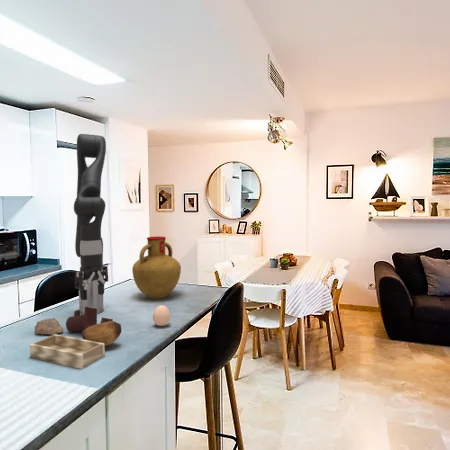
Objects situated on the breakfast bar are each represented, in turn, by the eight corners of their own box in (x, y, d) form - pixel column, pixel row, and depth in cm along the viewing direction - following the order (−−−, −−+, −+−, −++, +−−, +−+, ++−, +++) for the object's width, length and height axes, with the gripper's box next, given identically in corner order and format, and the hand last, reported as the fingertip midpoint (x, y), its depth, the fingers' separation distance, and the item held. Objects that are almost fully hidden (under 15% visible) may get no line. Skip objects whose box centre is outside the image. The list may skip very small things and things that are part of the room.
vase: (157, 289, 202) (157, 234, 200) (191, 295, 188) (190, 236, 186) (122, 298, 183) (121, 237, 181) (156, 306, 169) (155, 240, 167)
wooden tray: (30, 357, 114) (29, 344, 114) (55, 346, 123) (55, 334, 122) (81, 369, 106) (81, 355, 105) (104, 356, 114) (104, 343, 114)
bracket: (106, 331, 128) (106, 302, 132) (64, 338, 132) (66, 309, 136) (116, 332, 134) (116, 304, 137) (75, 338, 138) (76, 311, 141)
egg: (153, 329, 138) (153, 308, 138) (152, 323, 145) (151, 303, 144) (171, 327, 140) (171, 307, 139) (169, 322, 146) (169, 302, 146)
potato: (85, 357, 121) (88, 336, 128) (125, 347, 122) (126, 327, 128) (75, 344, 117) (79, 323, 123) (116, 334, 117) (118, 313, 123)
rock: (30, 333, 135) (41, 335, 128) (32, 317, 137) (43, 317, 130) (54, 333, 141) (65, 334, 135) (56, 317, 143) (68, 318, 136)
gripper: (97, 250, 141) (98, 292, 142) (68, 254, 128) (69, 301, 129) (112, 250, 138) (114, 293, 139) (84, 255, 125) (86, 302, 126)
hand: (92, 297), depth 134 cm, fingers open, 8 cm apart
